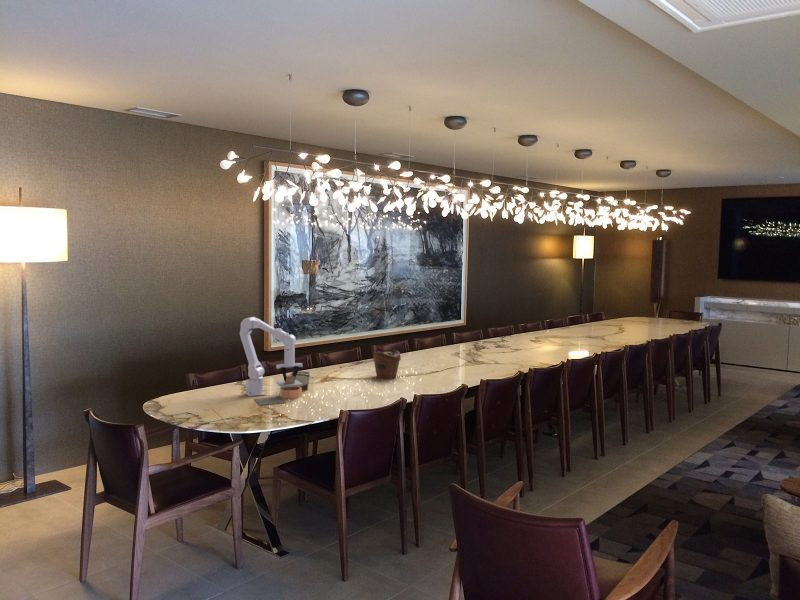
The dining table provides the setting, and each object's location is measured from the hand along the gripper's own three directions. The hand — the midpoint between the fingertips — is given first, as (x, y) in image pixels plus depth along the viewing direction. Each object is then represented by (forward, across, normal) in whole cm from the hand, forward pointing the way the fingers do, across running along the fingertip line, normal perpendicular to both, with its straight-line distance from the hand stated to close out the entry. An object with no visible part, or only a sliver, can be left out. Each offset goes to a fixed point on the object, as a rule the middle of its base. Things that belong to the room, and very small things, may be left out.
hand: (289, 380), depth 363 cm
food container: (+10, +12, +16) cm, 22 cm away
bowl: (+9, +1, +1) cm, 9 cm away
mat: (+9, -13, -8) cm, 18 cm away
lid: (+2, 0, 0) cm, 3 cm away
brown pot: (+10, +73, +29) cm, 79 cm away
